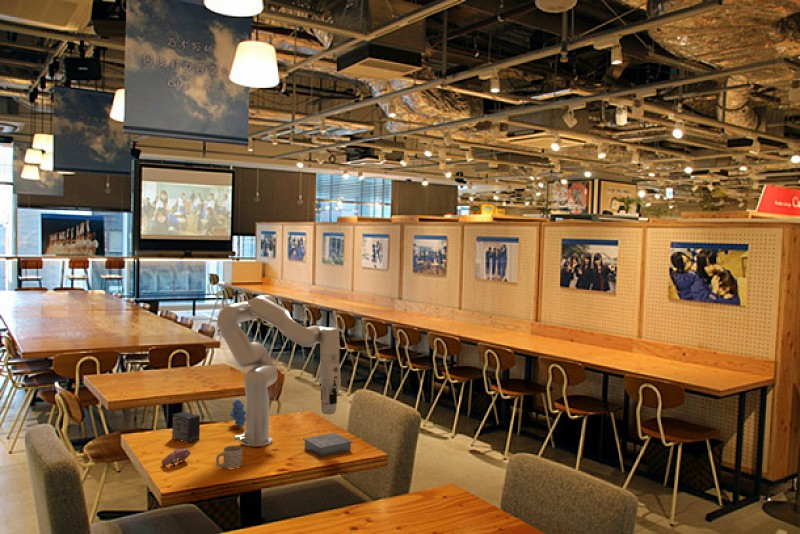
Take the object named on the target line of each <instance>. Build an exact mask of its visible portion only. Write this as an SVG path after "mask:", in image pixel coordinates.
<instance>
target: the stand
mask: <svg viewBox="0 0 800 534" xmlns="http://www.w3.org/2000/svg"><path fill="white" fill-rule="evenodd" d="M302 440H303V441H304V450H306V451H309V452H310V453H312V454H314V455H315V456H318V457H319V458H325V457H329V456H334V455H338V454H337V453H339V454H342V453H341V452H344V453H347V452H346V451H348V452H351V451H350V450H351V448H352V446H351V445H352V443H353V441H352V440H350V439H349V438H346V437H344V436H342V435H341V434H339V433H336V432H331V433H326V434H321V435H315V436H310V437H304V438H303V439H302ZM333 454H334V455H333Z"/></svg>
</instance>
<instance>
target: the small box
mask: <svg viewBox="0 0 800 534" xmlns="http://www.w3.org/2000/svg"><path fill="white" fill-rule="evenodd" d="M200 419H201V415H198V414H195V413H189V412H186V411H182V412H177V413H173V414H172V429H171V430H172V434H171V435H172V436H171V438H175V439H179V440H183V441H186V442H190V443H192V442H191V441H193V442H196V441H199V440H200V435H201V434H200V432H201V431H200V428H201V426H200V425H201V424H200V421H201V420H200ZM175 439H174V440H175ZM198 439H199V440H198ZM179 440H178V441H179ZM195 440H196V441H195ZM186 442H185V443H186Z"/></svg>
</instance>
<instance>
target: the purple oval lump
mask: <svg viewBox="0 0 800 534" xmlns="http://www.w3.org/2000/svg"><path fill="white" fill-rule="evenodd" d="M190 455H191V451H190V450H189V449H188V448H186V447H184V448H177V449H176V450H174V451H173V452H170V453H168V455H167V456H165V458H163V459H162V460H161V465H167V466H168V465H172V464H175V463H177V464H178V463H179V462H180V461H183V462H184V461H186V459H188V458H189V456H190Z"/></svg>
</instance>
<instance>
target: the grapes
mask: <svg viewBox="0 0 800 534" xmlns="http://www.w3.org/2000/svg"><path fill="white" fill-rule="evenodd" d="M232 406H233V407H232V409H231V411H230V412H229V416H230V417H231V418H232V419H233V420H234V421H235V422H234V424H235V425H236V427H240V428H243V427H244V425H245V423H246V409H244V407H245V404H244V403H242V401H241V400H240V399H236V400H234V401H233V402H232Z"/></svg>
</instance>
